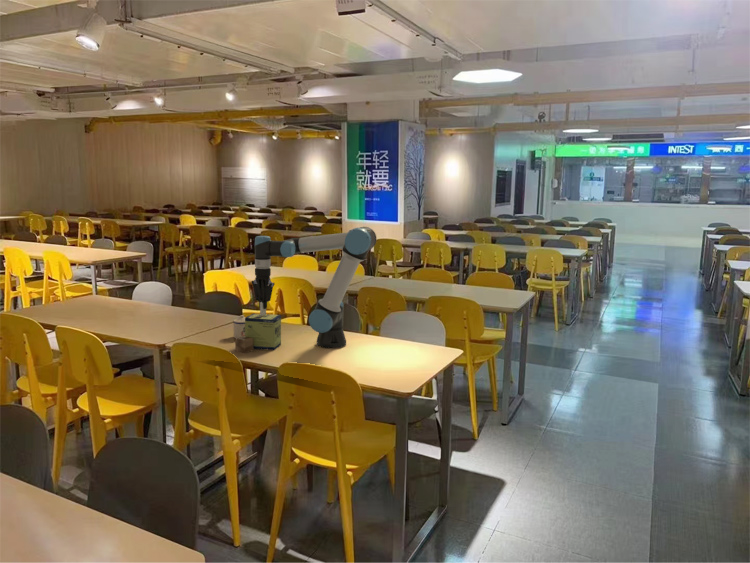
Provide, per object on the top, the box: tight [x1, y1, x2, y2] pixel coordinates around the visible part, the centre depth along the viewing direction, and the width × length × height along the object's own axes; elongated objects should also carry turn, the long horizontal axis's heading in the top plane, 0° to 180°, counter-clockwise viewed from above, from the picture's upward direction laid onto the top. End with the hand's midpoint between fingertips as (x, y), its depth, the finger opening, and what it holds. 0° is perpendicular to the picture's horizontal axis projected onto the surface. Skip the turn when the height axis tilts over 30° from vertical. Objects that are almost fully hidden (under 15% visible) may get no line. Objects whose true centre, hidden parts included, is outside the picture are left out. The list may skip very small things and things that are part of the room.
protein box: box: [245, 313, 282, 351], centre depth 283 cm, size 10×16×16 cm
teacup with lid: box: [232, 314, 246, 339], centre depth 301 cm, size 12×9×12 cm
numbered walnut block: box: [234, 337, 254, 354], centre depth 276 cm, size 6×6×6 cm
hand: (263, 314), depth 281 cm, fingers closed
